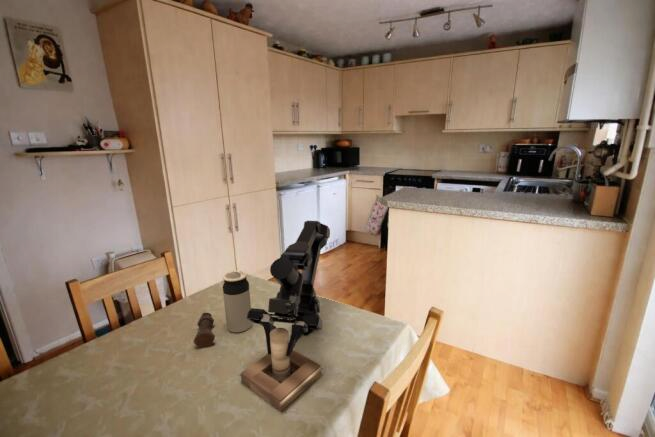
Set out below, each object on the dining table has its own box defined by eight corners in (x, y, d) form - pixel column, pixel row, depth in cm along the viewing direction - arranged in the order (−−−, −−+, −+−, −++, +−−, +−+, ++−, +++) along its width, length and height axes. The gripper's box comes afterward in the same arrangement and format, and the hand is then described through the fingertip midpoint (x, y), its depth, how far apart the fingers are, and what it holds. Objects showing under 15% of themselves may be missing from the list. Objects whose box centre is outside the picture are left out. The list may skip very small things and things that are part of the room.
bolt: (209, 325, 105) (208, 351, 91) (195, 321, 103) (191, 347, 89) (217, 310, 105) (216, 334, 91) (202, 305, 103) (200, 329, 89)
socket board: (281, 352, 88) (281, 342, 87) (322, 375, 79) (322, 365, 78) (239, 382, 77) (238, 372, 76) (281, 413, 68) (281, 402, 67)
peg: (276, 367, 81) (274, 326, 78) (293, 369, 80) (291, 328, 77) (269, 379, 76) (266, 337, 73) (286, 383, 75) (284, 340, 72)
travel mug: (229, 336, 96) (223, 282, 92) (225, 323, 103) (219, 273, 98) (255, 328, 99) (250, 277, 95) (249, 316, 106) (244, 268, 102)
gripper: (246, 279, 78) (228, 345, 70) (318, 285, 74) (308, 355, 66) (261, 293, 87) (247, 352, 79) (326, 298, 84) (318, 361, 76)
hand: (278, 355), depth 75 cm, fingers closed on peg, 4 cm apart
